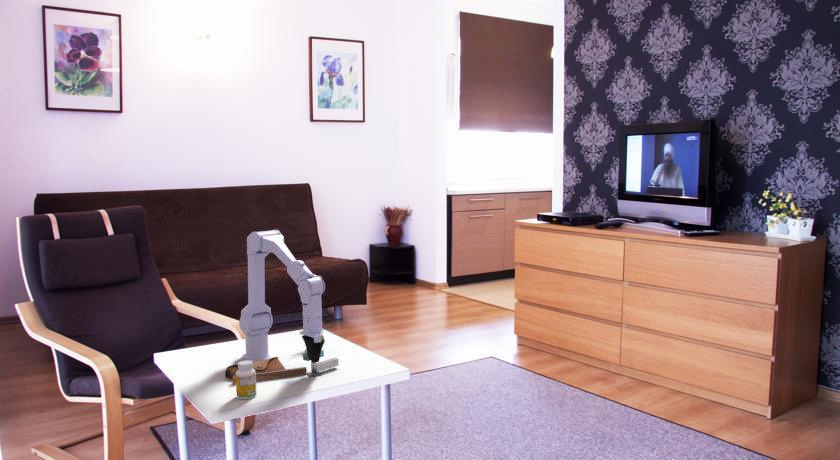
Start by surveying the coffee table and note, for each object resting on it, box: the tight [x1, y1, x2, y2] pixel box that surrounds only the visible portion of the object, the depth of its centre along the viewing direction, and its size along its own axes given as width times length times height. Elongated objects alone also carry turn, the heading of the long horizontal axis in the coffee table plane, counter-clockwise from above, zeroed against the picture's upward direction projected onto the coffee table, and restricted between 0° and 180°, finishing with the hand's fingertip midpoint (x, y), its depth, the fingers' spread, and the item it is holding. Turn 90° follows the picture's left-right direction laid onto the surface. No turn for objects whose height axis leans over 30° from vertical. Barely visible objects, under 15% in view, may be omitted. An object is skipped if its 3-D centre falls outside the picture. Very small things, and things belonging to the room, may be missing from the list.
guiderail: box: [232, 366, 308, 385], centre depth 202 cm, size 1×22×2 cm, turn 113°
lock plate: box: [306, 371, 322, 378], centre depth 205 cm, size 4×4×1 cm
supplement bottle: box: [235, 360, 257, 400], centre depth 186 cm, size 5×5×10 cm
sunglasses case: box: [224, 356, 286, 382], centre depth 207 cm, size 18×7×7 cm
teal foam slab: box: [302, 349, 339, 373], centre depth 207 cm, size 12×2×6 cm, turn 139°
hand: (313, 359), depth 205 cm, fingers closed on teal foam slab, 4 cm apart
